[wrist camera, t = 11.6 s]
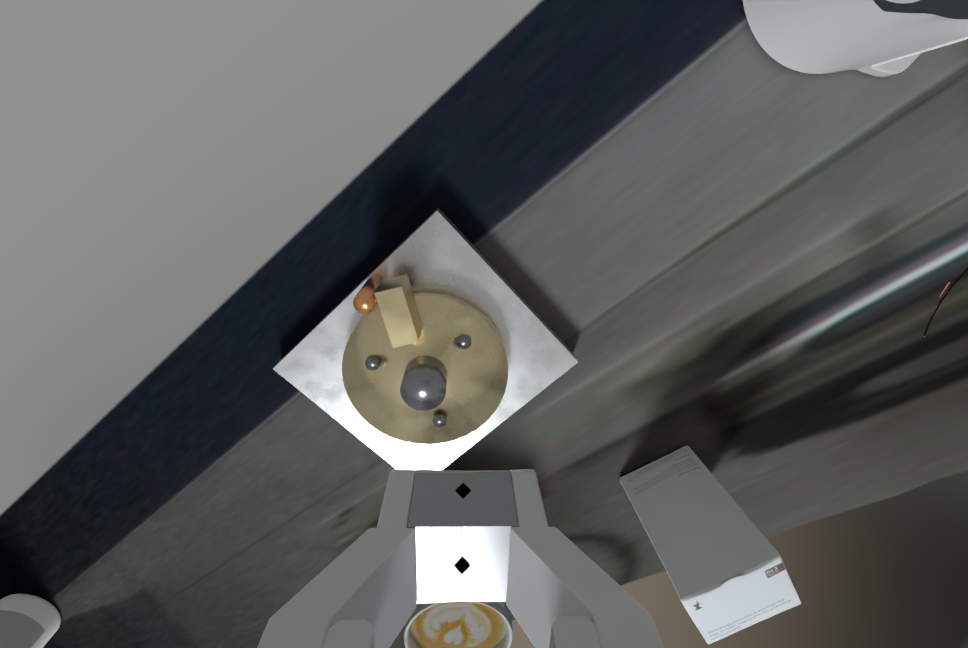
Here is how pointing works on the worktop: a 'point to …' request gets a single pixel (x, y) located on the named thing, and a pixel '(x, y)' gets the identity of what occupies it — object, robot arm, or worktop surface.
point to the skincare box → (708, 546)
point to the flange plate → (439, 341)
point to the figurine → (942, 299)
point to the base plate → (445, 268)
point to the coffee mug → (459, 625)
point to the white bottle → (27, 621)
